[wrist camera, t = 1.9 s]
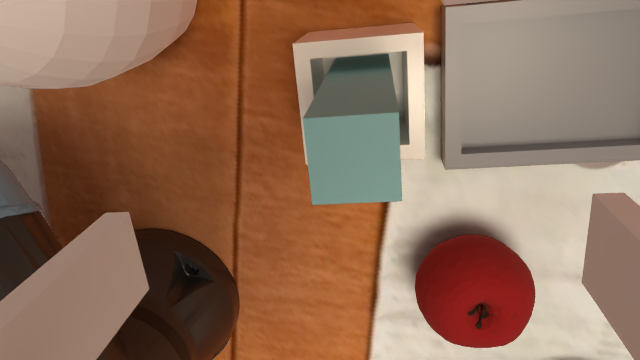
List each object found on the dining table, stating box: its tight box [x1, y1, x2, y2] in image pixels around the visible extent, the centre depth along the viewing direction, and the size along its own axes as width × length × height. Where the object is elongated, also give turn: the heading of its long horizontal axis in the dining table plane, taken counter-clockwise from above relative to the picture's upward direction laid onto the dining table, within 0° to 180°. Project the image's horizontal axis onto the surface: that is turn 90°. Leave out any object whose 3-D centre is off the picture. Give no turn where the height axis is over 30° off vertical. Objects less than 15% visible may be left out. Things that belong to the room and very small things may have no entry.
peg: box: [303, 54, 402, 205], centre depth 29 cm, size 4×4×18 cm
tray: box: [441, 0, 640, 170], centre depth 36 cm, size 16×12×2 cm
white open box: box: [292, 23, 425, 164], centre depth 35 cm, size 8×8×8 cm
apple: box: [415, 235, 535, 348], centre depth 39 cm, size 9×9×10 cm
